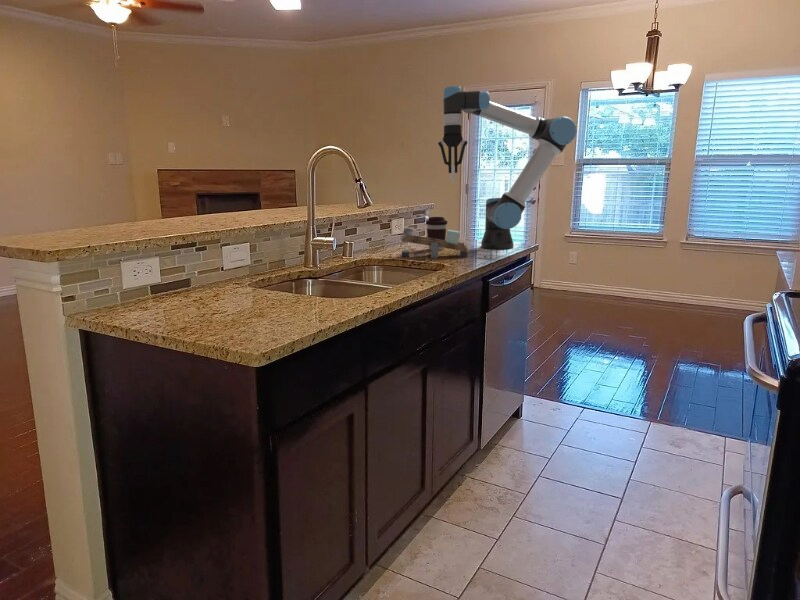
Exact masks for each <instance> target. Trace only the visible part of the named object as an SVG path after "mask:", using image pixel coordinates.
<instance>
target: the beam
mask: <svg viewBox="0 0 800 600" xmlns="http://www.w3.org/2000/svg"><path fill="white" fill-rule="evenodd" d="M414 229H415V227H410V226H404V227H403V232H402V237H401V242H405V243H412V244H417V245H425V246H428V247H429V246H431V242H438V247H442V248H444V249H450V250H456V251H460V250H461V251H467V252H468V247H467V245H465V242H459V241H458V244H452V243H446V239H445V240H439V239H433V238H428V237H425V236H418V235H413V234H414Z"/></svg>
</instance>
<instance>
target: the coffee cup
mask: <svg viewBox="0 0 800 600" xmlns="http://www.w3.org/2000/svg"><path fill="white" fill-rule="evenodd" d="M425 225H426V226H427V227H426V234H427V237H426V238H433V239H439V240H446V238H447V225H448V220H446V219H445V217H443V216H430V217H429V218H428V220H425ZM443 249H444V250H445V248H442V247H438V251H443ZM428 250H430V251H431V246H429V245H428Z"/></svg>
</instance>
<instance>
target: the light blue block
mask: <svg viewBox="0 0 800 600" xmlns="http://www.w3.org/2000/svg"><path fill="white" fill-rule="evenodd" d="M460 234H461V232H460V231H459V230H452V229H447V231H446V237H445V240H446V243H452V244H458V242H459V240H460Z"/></svg>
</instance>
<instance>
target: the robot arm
mask: <svg viewBox="0 0 800 600" xmlns="http://www.w3.org/2000/svg"><path fill="white" fill-rule="evenodd" d="M490 96H491V95H490V92H489V91H488V90H472V91H465V90H462V87H461V86H460V85H459V86H458V85H450V86H446V87H444V88H443V124H444V126H443V137H442V140H440V141H439V142H437V145H438V146H439V148H440V151H441V155H442V159H443V163H444V165H447V167H448V168H447V169H448V170H447V171H448V174H450V181H451V182H455V181H456V174H457V173H458V166H459V165H461V164H462V162H463V159H464V158H463V157H464V153H465V151H466V150H465V149H466V146H467V144H468V140H465V139H464V138H463V136H462V125H461V124H462V112H464V113H466V114H472V115H474V116H477V117H480V118H483V119H486V120H489V121H491V122H494V123H498V124H500V125H503V126H504V127H507V128H510V129H514V130H516V131H519V132H521V133H524V134H528V137H529V138H530V139H533V140H536V141H537V142H538V146H537V147H536V148H535V150H534V152H533V154H532V155H531V156H530V158H529V160H528V161H527V162H526V164H525V166H524V168H523V169H522V171H521V172H520V174H519V175H518V177H517V178H516V180H515V181H514V183H513V185H512V186H511V188H510V189H509V191H508V192H504V193H503V194H502V195H501V197H492V198H487V199H486V201H485V226H484V227H485V228H484V233H483V237H482V240H481V242H480V246H481V247H480V248H483V249H490V250H510V249H512V248H514V241H513V236H512V234H511V229H512V228H515V227H516V226H518V225H519V224H520V221H521V219H522V214H523V212H524V210H525V209H526V207H527V206H526V202H527V200H528V198H529V197H530V196H531V193H532V192H533V190H534V189H535V187H536V186H537V185H538V183H539V182H540V180H541V179H542V177H543V175H544V174H545V172H546V171H547V170H548V168H549V166H550V164H551V163H552V161H553V160H554V159H555V157H556V156H557V155H560V154H562V152H564V150H565V148H566V146H567V145H569V144H570V143H572V142H573V140H574V139H575V138H576V136H577V126H576V123H575V121H573V120H572V118H570V117H569V116H562V115H561V116H560V115H559V116H557V117H554V118H544V117H540V116H536V117H534V116H531V115H529V114H525V113H524V112H520V111H518V110H514V109H512V108H509V107H507V106H503V105H501V104H499V103H496V102H492V101H491V98H490ZM444 143H445V144H444ZM460 144H461V150H460V153H459V154H460V155H459V157H458V146H460ZM444 145H446V147H447V151H448V152H447V153H448V156H447V155H446V151H445V147H444ZM452 148H453V159H454V161H453V164H454V165H452ZM447 158H448V159H447Z"/></svg>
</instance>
